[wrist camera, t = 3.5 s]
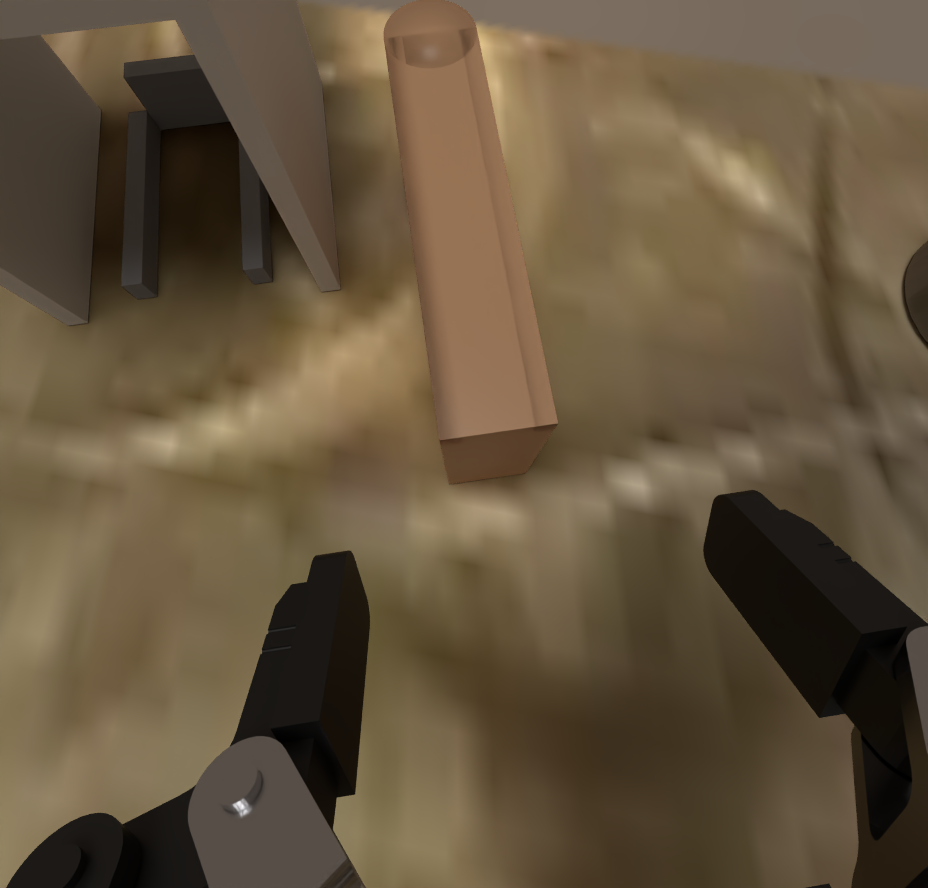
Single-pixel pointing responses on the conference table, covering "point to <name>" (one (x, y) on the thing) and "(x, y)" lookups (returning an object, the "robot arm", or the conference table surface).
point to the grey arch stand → (156, 141)
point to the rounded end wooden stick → (466, 248)
